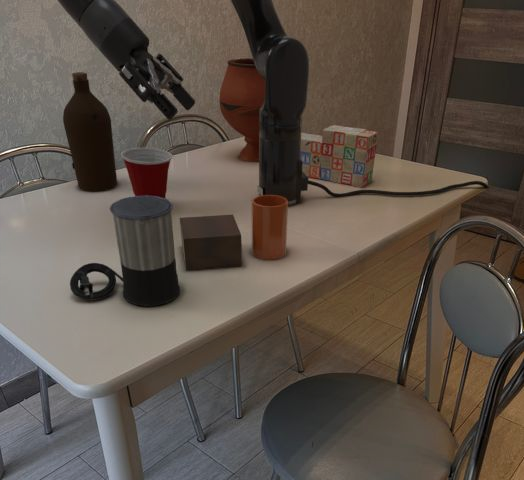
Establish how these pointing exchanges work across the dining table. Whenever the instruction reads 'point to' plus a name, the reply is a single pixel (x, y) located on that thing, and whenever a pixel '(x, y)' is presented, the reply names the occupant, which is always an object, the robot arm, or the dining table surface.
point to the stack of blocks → (340, 155)
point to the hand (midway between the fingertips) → (183, 111)
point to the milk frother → (138, 254)
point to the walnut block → (210, 242)
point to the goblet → (243, 103)
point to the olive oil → (89, 138)
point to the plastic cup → (147, 170)
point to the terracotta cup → (269, 226)
